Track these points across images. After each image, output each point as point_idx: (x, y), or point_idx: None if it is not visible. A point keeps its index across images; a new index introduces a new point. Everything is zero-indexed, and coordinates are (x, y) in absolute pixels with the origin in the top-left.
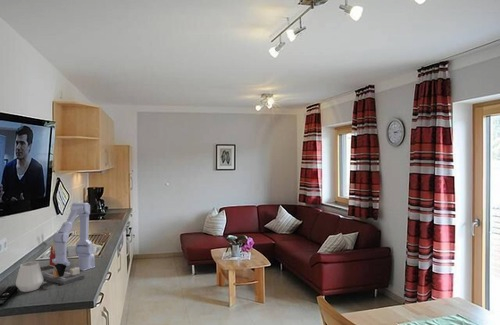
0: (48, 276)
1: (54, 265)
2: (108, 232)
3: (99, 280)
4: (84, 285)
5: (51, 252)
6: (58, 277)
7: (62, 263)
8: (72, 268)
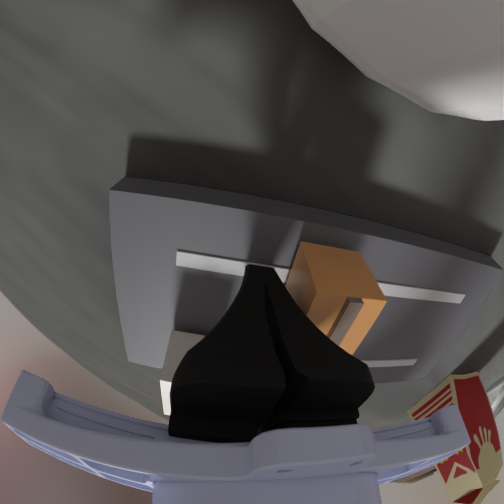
0: (419, 256)
1: (457, 382)
2: None
3: (34, 325)
4: (6, 236)
5: (491, 425)
6: None
7: (93, 433)
8: None
